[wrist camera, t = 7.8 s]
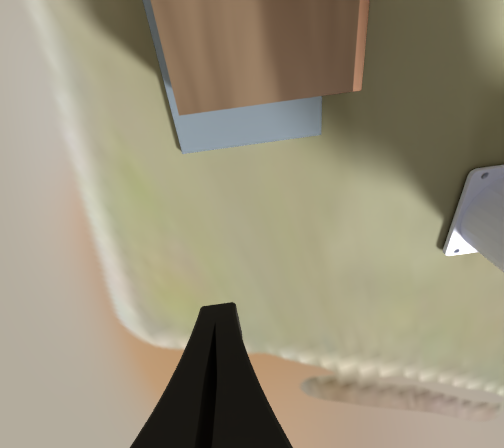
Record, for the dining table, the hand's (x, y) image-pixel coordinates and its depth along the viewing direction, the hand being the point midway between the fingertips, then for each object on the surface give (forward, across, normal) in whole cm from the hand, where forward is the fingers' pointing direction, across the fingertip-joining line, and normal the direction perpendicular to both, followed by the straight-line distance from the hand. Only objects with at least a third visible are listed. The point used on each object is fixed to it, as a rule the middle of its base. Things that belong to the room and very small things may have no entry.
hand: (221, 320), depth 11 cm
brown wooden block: (+8, -8, -10) cm, 15 cm away
